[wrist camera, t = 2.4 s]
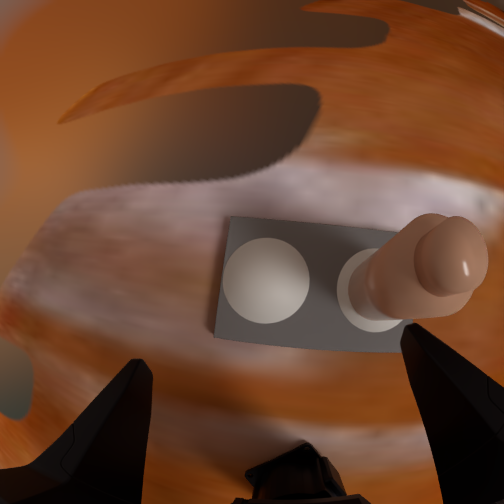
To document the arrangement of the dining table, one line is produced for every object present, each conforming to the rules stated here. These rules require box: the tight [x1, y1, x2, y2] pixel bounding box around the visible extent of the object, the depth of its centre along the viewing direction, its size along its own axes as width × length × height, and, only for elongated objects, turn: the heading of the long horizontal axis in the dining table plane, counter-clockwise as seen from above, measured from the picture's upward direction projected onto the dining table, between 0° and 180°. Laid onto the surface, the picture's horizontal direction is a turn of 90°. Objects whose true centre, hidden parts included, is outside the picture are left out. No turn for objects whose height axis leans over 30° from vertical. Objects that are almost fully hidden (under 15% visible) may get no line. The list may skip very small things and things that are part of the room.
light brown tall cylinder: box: [348, 213, 488, 321], centre depth 15 cm, size 5×5×12 cm
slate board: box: [214, 216, 413, 352], centre depth 22 cm, size 16×10×1 cm, turn 83°
